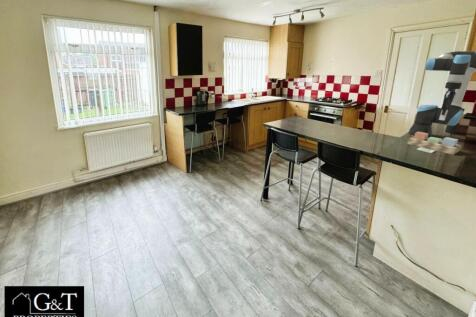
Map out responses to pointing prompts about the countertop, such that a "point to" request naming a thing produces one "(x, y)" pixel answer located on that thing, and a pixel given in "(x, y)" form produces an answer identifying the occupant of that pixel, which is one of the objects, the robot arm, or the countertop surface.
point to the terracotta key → (421, 136)
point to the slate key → (449, 142)
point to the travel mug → (453, 128)
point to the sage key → (434, 140)
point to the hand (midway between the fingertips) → (441, 119)
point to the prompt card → (426, 150)
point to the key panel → (434, 146)
